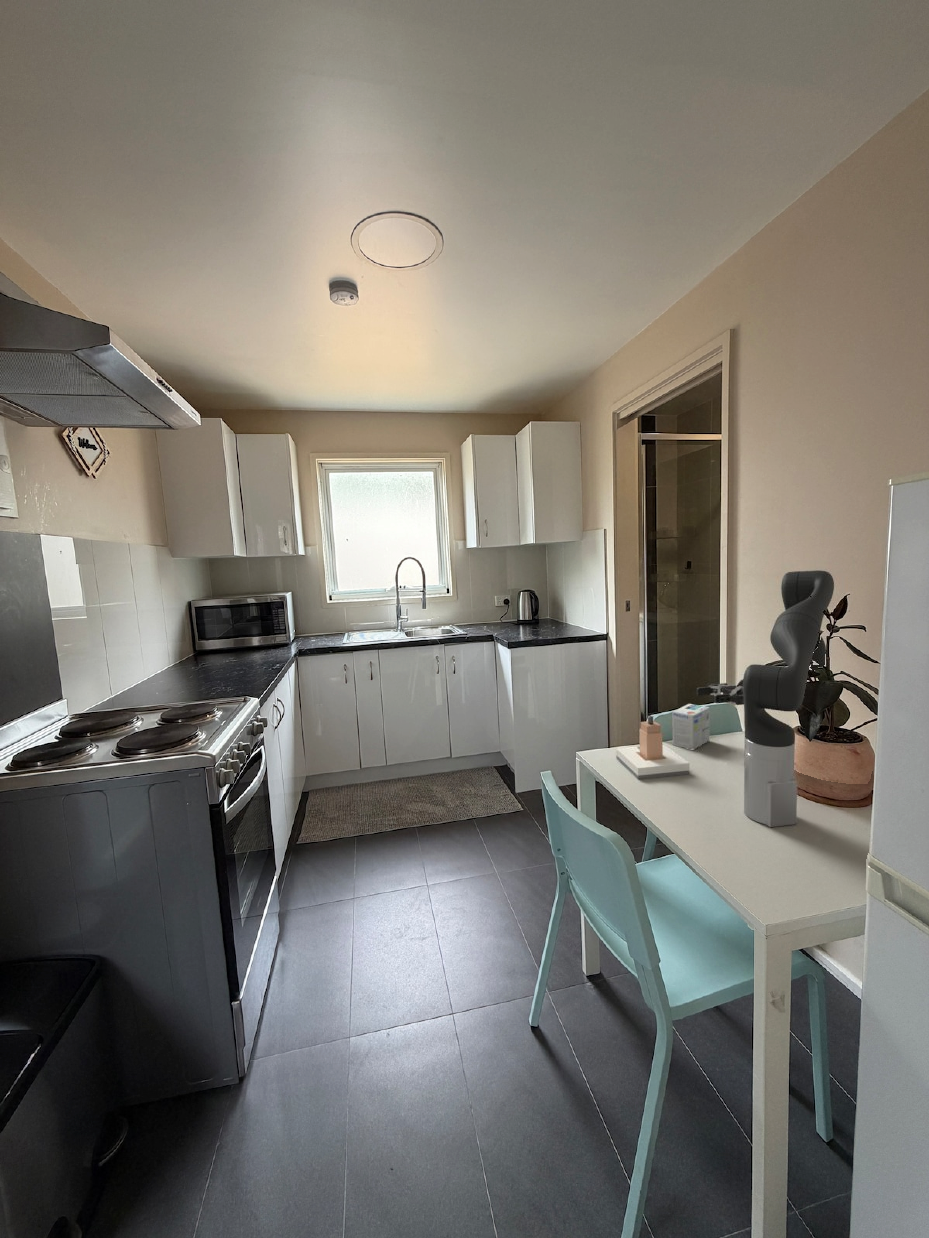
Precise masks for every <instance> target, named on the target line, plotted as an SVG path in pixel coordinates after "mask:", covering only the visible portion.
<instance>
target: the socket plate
mask: <svg viewBox="0 0 929 1238" xmlns="http://www.w3.org/2000/svg"><path fill="white" fill-rule="evenodd" d="M615 753H616V754H615V755H616V756H615V757H616V760H617V761H618V762H619V763H620V764H622V765H623V766H624V767H625V768H626V769H627V771H629V772H630V773H631V775H633V776H634V777H635V778H636V779H637V780H643V779H654V778H655V779H656V778H662V777H664V778H665V777H674V776H683V775H690V762H689V761H687V760H686V759H684V758H683V757H681V756H680V755H679V754H677V752H674V751H673V750H672V749H671V748H669V747H667V746H666V745H665V744H664V743H663V759H658V760H648V761H645V760H644V759H643V758H642V757H641V756H640V745H638V746H631V747H630V746H629V747H628V746H627V747H618V748H617V747H616V749H615Z"/></svg>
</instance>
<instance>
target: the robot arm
mask: <svg viewBox="0 0 929 1238" xmlns="http://www.w3.org/2000/svg"><path fill="white" fill-rule="evenodd" d="M780 586H781V587H780V589H781V598H782V602H783V605H784V611H782V612H781V613H780V614H779V615H778V617H777V618H776V620H775V621H774V625H773V626H772V630H771V632H770V637H769V638H770V639H769V640H770V643H771V646H772V648H773V650H774V651H775V653H777V656H779V658H780V659H781V660H782V661H783V662H784V663H785V664H786V665H787V666H781V665H780V666H779V665H769V664H768V665H767V664H758V663H757V664H756V663H755V664H754V663H753V664H750V665H748V666H747V667H746V669H745V671H744V674H743V678H742V679H741V680H739V682H738V683H737V684H728V683H727V682H724V683H722V682H721V683H708V684H706V686H702V687H701V686H700V687H697V688H696V695H697V696H713V702H714V703H716V704H723V703H726V704H727V703H729V704H731V705H732V704H734V705H737V706H743V711H744V713H743V716H744V717H743V720H744V721H743V722H744V751H743V752H744V757H743V758H744V761H743V762H744V764H743V766H744V770H743V771H744V772H743V773H744V776H743V777H744V778H743V811H744V812H743V813H744V814H745V815H746V816H747V817H748V818H749V819H751V820H753V821H755V822H757V823H760V824H763V825H765V826H767V827H769V828H771V827H772V828H774V827H783V826H791V825H797V818H798V817H797V812H798V811H797V809H798V805H797V804H798V781H797V780H796V779H795V753H796V752H795V751H796V749H795V748H796V747H795V743H796V732H795V730H794V728H793V727H792V726H790V725H789V724H787V723H785V722H783V721H781V720H779V719H777V718H775V717H774V716H772V715H771V714H769V712H767V711H766V710H772V711H780V712H788V713H789V712H796V711H798V710H799V709H800V708H801V706H802V704H803V701H804V698H805V696H804V694H805V689H806V683H807V677H808V671H809V666H810V662H811V659H813V660H814V661H816V662H818V664H819V665H811V667H810V668H811V669H812V670H817V669H818V667H822V666H824V665H825V654H827V647H826V642H825V641H824V638H823V637H822V636H821V640H820V643H819V644H818V648H817V649H816V650H815V651H814V649H815V646H816V644H817V641H818V637H819V633H820V634H821V629H822V624H823V619H824V616H825V614H824V613H823V611H824V610H825V611H827V609H828V608H829V606H830V603H831V601H832V599H833V598H832V597H834V591H835V590H834V589H835V581H834V578H833V575H832V574H831V573H830V572H829V571H826V570H820V569H819V570H799V571H795V570H794V571H788V572H786V573H784V575H783V577H782V580H781V585H780ZM810 596H812V597H810ZM809 621H811V622H809ZM818 632H819V633H818ZM813 652H814V653H813Z"/></svg>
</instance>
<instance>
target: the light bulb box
mask: <svg viewBox="0 0 929 1238" xmlns="http://www.w3.org/2000/svg"><path fill="white" fill-rule="evenodd" d="M671 714H672V715H671V716H672V745H673V744H674V745H676V746H675V747H678V746H681V747H680V748H682V747H684V748H683V749H686V748H688V749H687V750H690V749H694V750H696V749H697V747H698V746H699V747H701V746H702V744H703V745H705V744H706V743H708V742H709V741H710V707H709V706H704V705H700V704H692V703H687V704H685V705H683V706H681V707H680V708H677V709H674V710H673V711H672V713H671ZM707 741H708V742H707ZM674 745H673V746H674ZM699 747H698V748H699Z"/></svg>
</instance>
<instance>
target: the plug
mask: <svg viewBox="0 0 929 1238" xmlns="http://www.w3.org/2000/svg"><path fill="white" fill-rule="evenodd" d="M661 728H662V725H661V724H660V723H658V722H656V721H655V720H654V716H653V715H648V716H647V721H640V728H639V729H638V730H639V736H638V737H639V746H640V756H641V757H642V758H643V759H644V760H645V761H648V760H658V759H663V744H664V743H663V732H662V731H661V730H662V729H661Z"/></svg>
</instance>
